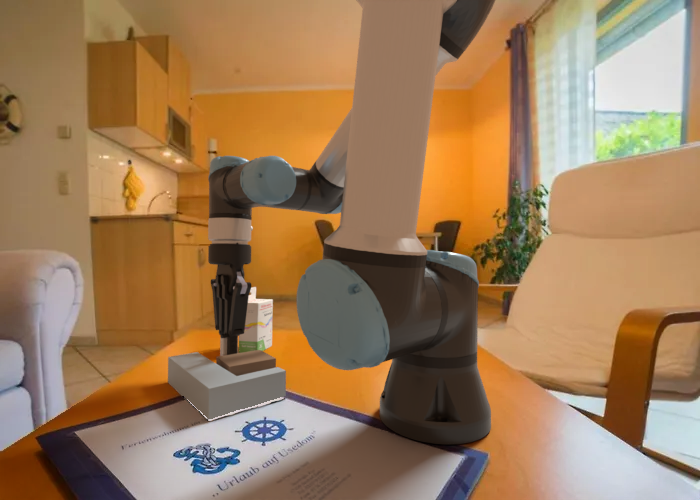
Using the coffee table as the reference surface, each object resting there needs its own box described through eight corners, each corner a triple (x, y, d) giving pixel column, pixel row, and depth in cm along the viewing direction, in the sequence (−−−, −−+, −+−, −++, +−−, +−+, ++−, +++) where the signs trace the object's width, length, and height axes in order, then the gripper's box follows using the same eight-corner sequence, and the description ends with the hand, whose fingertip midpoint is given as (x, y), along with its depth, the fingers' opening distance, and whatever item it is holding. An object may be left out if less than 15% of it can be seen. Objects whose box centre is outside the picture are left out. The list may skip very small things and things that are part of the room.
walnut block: (275, 387, 63) (275, 358, 63) (229, 398, 58) (229, 366, 58) (259, 376, 68) (259, 349, 68) (216, 385, 63) (216, 356, 64)
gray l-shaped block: (285, 399, 57) (285, 370, 57) (208, 421, 49) (209, 388, 49) (233, 368, 72) (233, 346, 72) (167, 382, 64) (168, 356, 64)
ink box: (257, 354, 83) (258, 289, 83) (237, 353, 84) (238, 289, 84) (273, 345, 91) (273, 286, 91) (254, 344, 92) (255, 286, 92)
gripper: (265, 242, 64) (264, 376, 64) (235, 244, 74) (233, 359, 74) (224, 241, 60) (222, 386, 59) (197, 243, 69) (195, 367, 69)
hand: (228, 371), depth 67 cm, fingers closed
